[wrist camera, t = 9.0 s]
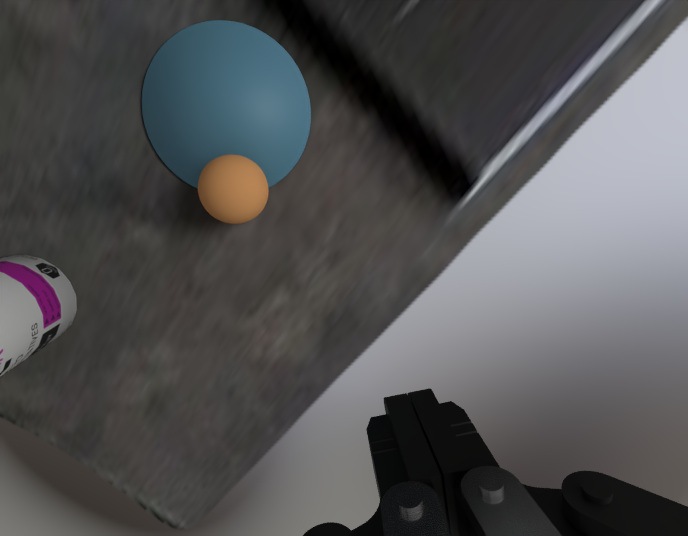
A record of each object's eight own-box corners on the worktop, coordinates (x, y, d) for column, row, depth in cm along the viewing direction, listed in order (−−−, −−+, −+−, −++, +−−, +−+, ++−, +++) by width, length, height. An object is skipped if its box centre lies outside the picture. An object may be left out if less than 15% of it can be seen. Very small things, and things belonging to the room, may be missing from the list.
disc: (153, 197, 36) (153, 198, 36) (131, 20, 33) (130, 19, 33) (313, 194, 37) (313, 195, 37) (308, 21, 34) (308, 21, 34)
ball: (184, 164, 34) (226, 211, 38) (179, 199, 30) (227, 248, 34) (240, 130, 34) (277, 181, 37) (243, 161, 30) (285, 215, 33)
